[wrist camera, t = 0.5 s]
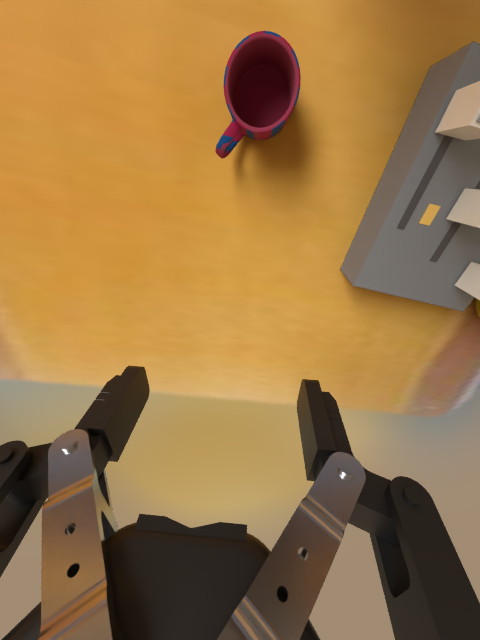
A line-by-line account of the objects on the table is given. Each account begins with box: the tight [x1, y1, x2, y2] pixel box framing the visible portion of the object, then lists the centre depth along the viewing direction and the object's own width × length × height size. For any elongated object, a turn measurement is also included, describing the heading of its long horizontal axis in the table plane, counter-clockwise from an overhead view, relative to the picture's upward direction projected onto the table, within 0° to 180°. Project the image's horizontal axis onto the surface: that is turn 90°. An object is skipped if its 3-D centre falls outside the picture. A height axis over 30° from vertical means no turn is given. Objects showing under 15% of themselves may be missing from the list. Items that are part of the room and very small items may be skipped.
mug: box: [216, 31, 300, 158], centre depth 26 cm, size 7×10×7 cm
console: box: [340, 41, 480, 312], centre depth 29 cm, size 22×16×6 cm
